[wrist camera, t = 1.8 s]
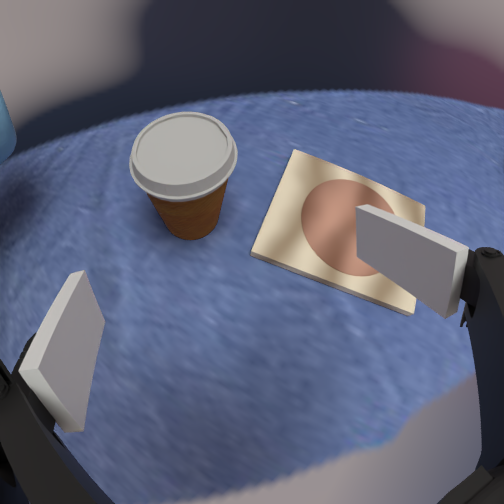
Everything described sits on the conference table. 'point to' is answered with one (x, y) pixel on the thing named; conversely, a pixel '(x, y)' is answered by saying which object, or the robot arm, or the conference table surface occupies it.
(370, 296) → the birch board
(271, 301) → the conference table surface
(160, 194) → the disposable coffee cup
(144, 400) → the conference table surface
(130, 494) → the conference table surface
